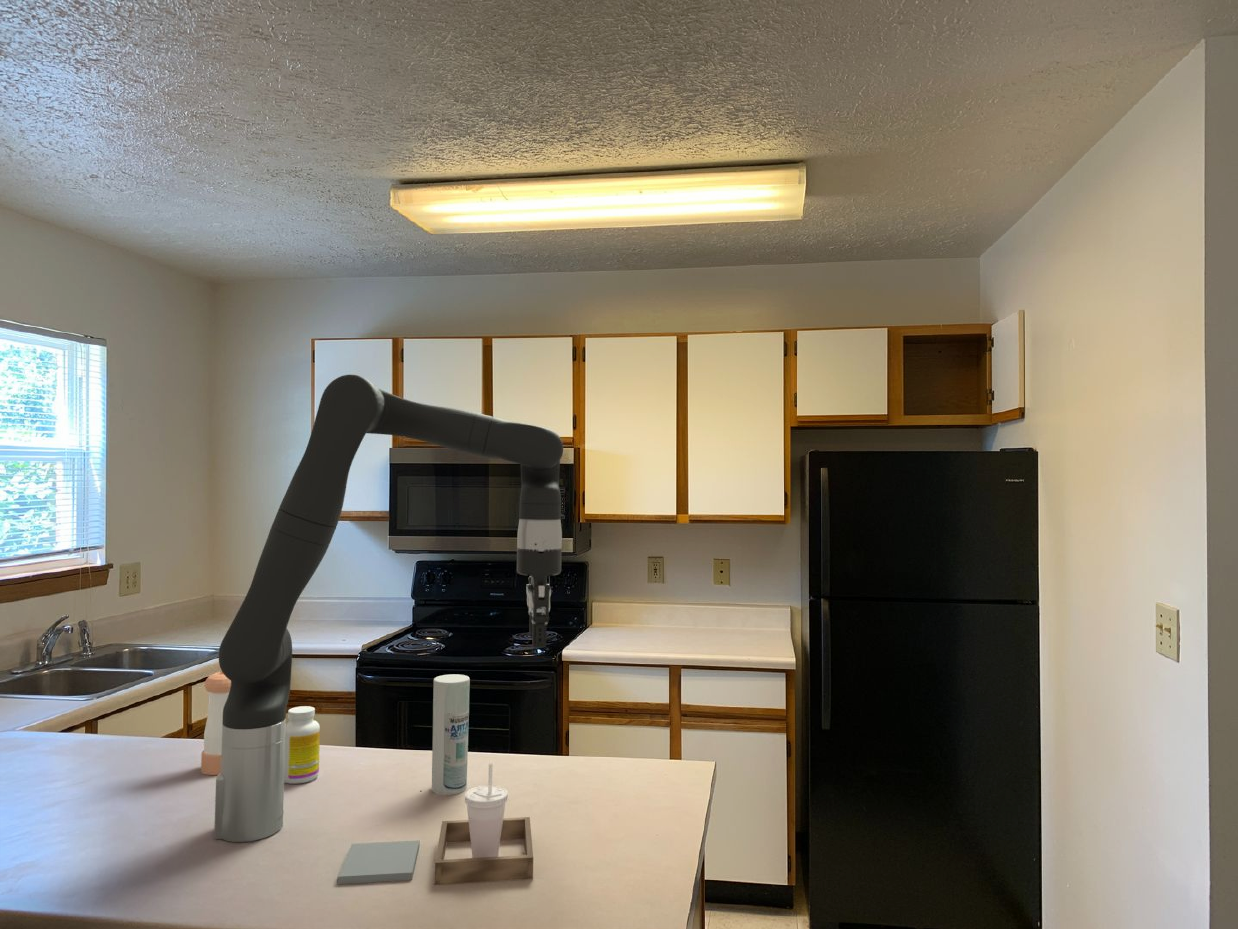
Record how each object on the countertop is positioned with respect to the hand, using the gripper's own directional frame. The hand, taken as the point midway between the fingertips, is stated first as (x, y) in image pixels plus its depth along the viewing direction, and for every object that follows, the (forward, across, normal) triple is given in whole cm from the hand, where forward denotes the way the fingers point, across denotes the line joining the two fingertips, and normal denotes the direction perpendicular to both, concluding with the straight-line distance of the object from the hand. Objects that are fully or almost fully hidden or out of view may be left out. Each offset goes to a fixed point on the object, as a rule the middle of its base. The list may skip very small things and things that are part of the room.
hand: (537, 642), depth 131 cm
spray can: (+29, -14, -14) cm, 36 cm away
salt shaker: (+30, -30, -58) cm, 72 cm away
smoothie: (+29, +14, -8) cm, 34 cm away
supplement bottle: (+30, -23, -42) cm, 56 cm away
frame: (+29, +14, -8) cm, 33 cm away
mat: (+29, +14, -23) cm, 40 cm away
